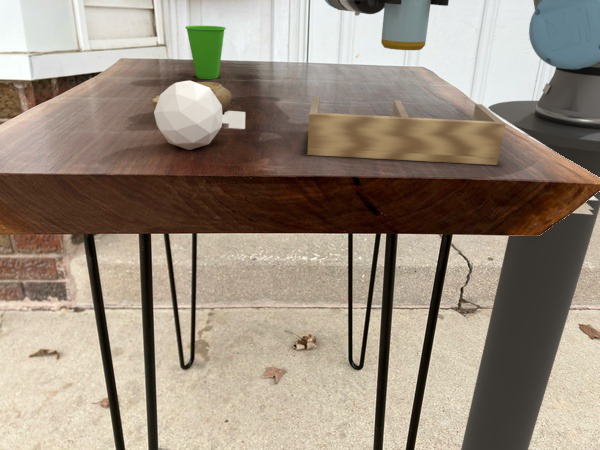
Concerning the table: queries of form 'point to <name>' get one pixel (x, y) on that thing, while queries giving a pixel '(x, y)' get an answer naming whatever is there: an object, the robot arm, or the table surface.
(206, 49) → the cup
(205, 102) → the perfume bottle
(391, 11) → the bottle
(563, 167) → the table surface
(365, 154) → the rack
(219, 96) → the oil lamp
